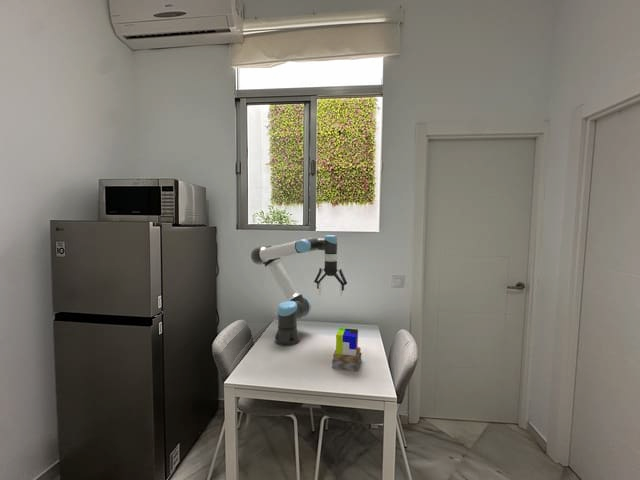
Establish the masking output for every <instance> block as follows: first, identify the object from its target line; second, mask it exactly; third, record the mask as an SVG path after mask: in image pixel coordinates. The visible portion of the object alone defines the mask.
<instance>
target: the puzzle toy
mask: <svg viewBox="0 0 640 480" xmlns="http://www.w3.org/2000/svg"><path fill="white" fill-rule="evenodd" d="M335 339H336V340H335V350H336V354H341V355H350V356H356V352H357V348H358V347H359V341H358V340H359V329H357V328H346V327H345V328H344V327H339V328H338V330H337V332H336V335H335Z"/></svg>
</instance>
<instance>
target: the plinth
mask: <svg viewBox="0 0 640 480" xmlns="http://www.w3.org/2000/svg"><path fill="white" fill-rule="evenodd" d="M361 362H362V352H361V347H359V346H358V348H357V352H356V356H350V355H341V354H336V349H335V351H334V352H333V356H332V360H331V368H332V369H337V370H345V371H351V372H356V373H357V372H358V371H359V369H360V365H361Z"/></svg>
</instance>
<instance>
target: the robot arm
mask: <svg viewBox="0 0 640 480" xmlns="http://www.w3.org/2000/svg"><path fill="white" fill-rule="evenodd" d="M314 251H324V268H323V267H320V268H319V270H318V273H317V275H316V277H315V279H314V280H313V283H315V284H316V289H318V295H319V296H321V294H322V283H321V282H322V281H323V280H324V279H325V277H326V276H328V277H334V278H336V280H337V281H338V283H340V284H339V285H340V287H339V288H340V289H339V290H340V291H339V293H340V294H339V295H340V297H342V296H343V291H344V290H345V286H346V285H347V284H348V281H347V280H346V277H345V275H344V272H343V269H342V268H338V261H337V260H338V236H337V235H333V234H326V235H324V238H323V237H308V238H301V239H298V240H295V241H291V242H287V243H283V244H279V245H265V246H258V247H255V248H254V249H253V250H252V251H251V253H250V258H251V260H252V262H253V263H254V264H256V265H264V266H265V269H267V270H269V272H270V273H271V275H272V276H273V278H274V280H275V282H276V284H277V285H278V287H279V289H280V291H281V293H282V294H283V295H284V297H285V299H286V301H283V302H280V303H279V304H278V307H277V331H276V334H275V337H274V342H275V343H276V344H277V345H280V346H293V345H297V344H299V343H300V341H301V337H300V332H299V329H298V321H299V320H301V319H302V318H305V317H306V316H308V315H309V313H311V309H312V304H311V301H310V300H309V299H308V298H306V297H304V296H303V295H302V293H300V292H298V291H297V288H296V287H295V285H294V283H293V281H292V280H291V278H290V277H289V275H288V273H287V271H286V269H285V268H284V266H283V264H282V262H281V261H282V259H281V258H283V257H289V256H293V255H298V254H303V253H308V252H314ZM323 272H324V274H323V275H322V276H321V274H322V273H323ZM337 272H338V273H339V274H338V273H337ZM339 275H340V276H339ZM320 276H321V278H320Z"/></svg>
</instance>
